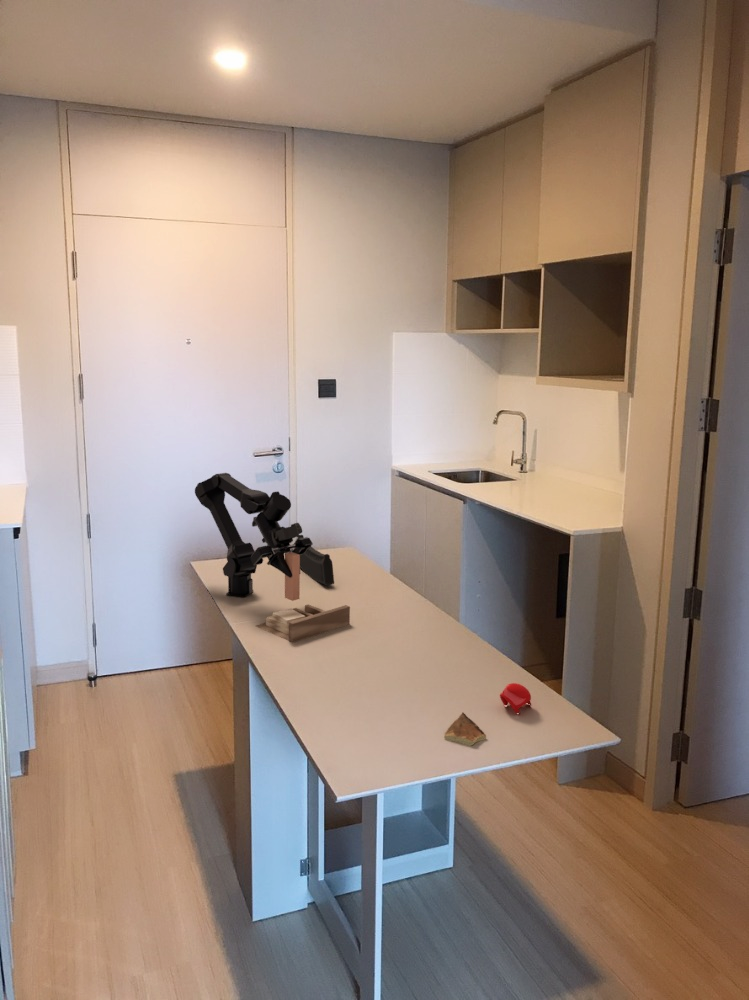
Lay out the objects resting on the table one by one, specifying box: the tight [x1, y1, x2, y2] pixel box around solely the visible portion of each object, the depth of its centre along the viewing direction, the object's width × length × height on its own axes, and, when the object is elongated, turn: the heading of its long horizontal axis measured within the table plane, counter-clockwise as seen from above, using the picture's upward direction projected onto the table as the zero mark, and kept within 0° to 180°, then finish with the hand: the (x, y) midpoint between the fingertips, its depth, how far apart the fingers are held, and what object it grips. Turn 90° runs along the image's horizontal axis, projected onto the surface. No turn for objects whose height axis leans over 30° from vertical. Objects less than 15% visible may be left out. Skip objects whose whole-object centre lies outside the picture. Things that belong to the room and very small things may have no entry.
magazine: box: [294, 534, 335, 586], centre depth 264 cm, size 17×3×30 cm
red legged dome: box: [499, 682, 532, 714], centre depth 172 cm, size 8×6×6 cm
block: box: [284, 552, 301, 602], centre depth 225 cm, size 4×2×13 cm
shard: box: [444, 711, 487, 747], centre depth 163 cm, size 11×8×2 cm
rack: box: [255, 604, 351, 643], centre depth 217 cm, size 16×20×6 cm
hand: (295, 575), depth 224 cm, fingers closed on block, 2 cm apart
